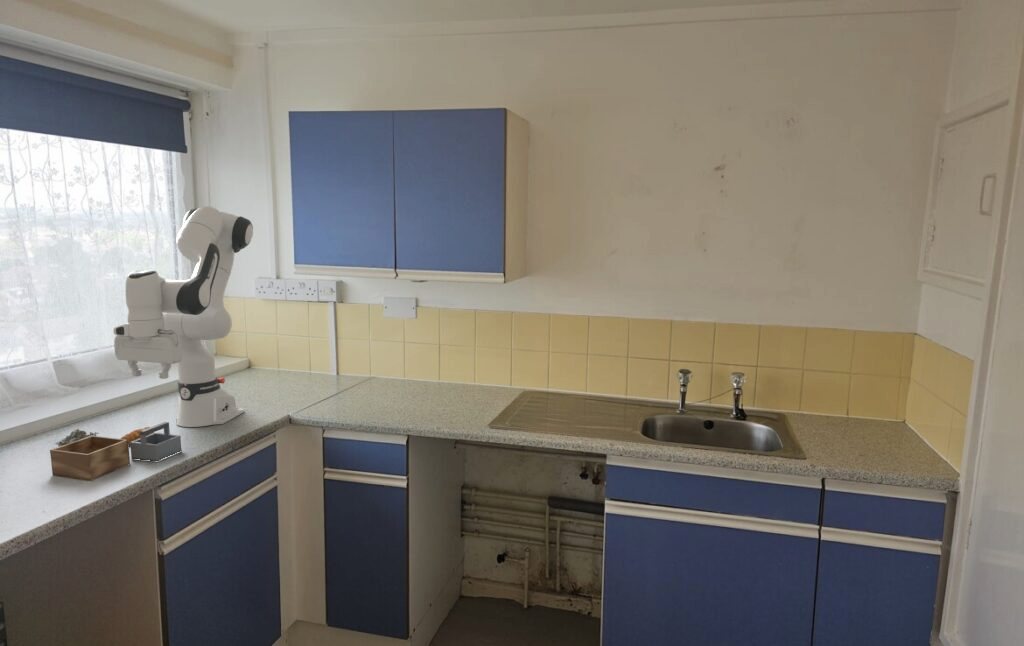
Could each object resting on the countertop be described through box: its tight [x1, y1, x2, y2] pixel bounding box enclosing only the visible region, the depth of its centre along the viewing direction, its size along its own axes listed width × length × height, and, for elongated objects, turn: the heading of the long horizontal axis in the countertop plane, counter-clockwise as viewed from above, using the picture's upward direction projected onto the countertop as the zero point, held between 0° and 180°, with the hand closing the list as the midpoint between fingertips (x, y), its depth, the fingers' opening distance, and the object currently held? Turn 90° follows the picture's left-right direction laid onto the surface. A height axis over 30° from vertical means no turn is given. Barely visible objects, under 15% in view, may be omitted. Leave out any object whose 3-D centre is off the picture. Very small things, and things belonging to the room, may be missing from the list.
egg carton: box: [54, 428, 99, 448], centre depth 199 cm, size 11×8×4 cm
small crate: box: [129, 421, 182, 461], centre depth 191 cm, size 9×9×9 cm
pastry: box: [120, 426, 155, 446], centre depth 204 cm, size 9×7×4 cm
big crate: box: [49, 435, 131, 482], centre depth 180 cm, size 13×13×7 cm
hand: (150, 377), depth 188 cm, fingers open, 8 cm apart
